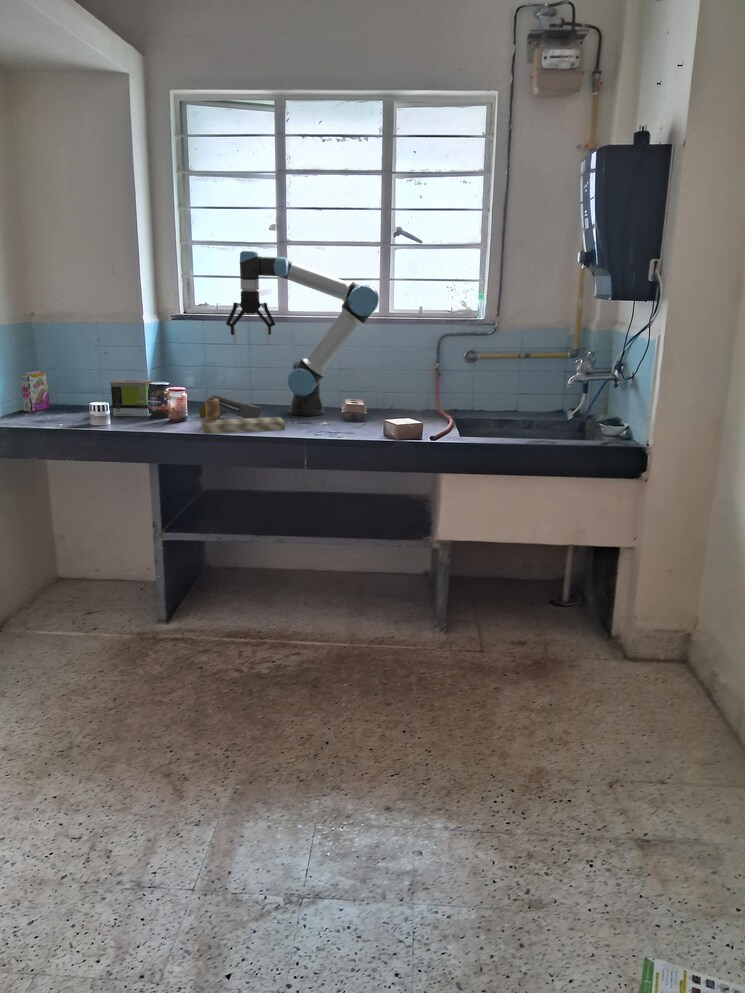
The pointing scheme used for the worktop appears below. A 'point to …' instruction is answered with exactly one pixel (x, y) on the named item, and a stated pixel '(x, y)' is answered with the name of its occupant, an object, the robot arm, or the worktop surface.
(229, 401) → the gun
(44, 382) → the candy bar box
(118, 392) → the tea box
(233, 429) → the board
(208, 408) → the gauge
